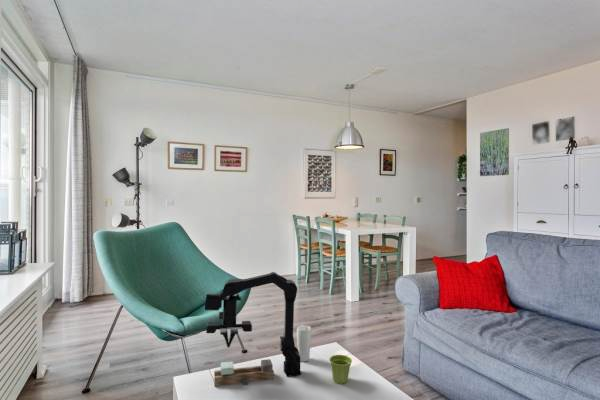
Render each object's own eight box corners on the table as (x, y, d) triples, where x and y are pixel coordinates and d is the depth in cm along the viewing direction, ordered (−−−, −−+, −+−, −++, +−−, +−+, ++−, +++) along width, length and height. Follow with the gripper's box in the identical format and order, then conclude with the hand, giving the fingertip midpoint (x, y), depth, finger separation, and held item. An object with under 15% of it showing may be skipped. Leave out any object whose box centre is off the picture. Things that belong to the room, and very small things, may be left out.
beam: (270, 371, 156) (270, 357, 156) (274, 381, 147) (274, 366, 147) (214, 377, 150) (214, 363, 150) (214, 388, 141) (214, 373, 141)
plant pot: (354, 377, 150) (354, 357, 150) (347, 388, 142) (348, 366, 142) (333, 373, 154) (333, 353, 154) (326, 383, 146) (326, 361, 146)
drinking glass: (309, 363, 163) (309, 331, 163) (295, 362, 164) (295, 329, 164) (311, 357, 170) (312, 325, 170) (298, 355, 171) (298, 324, 171)
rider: (232, 371, 150) (232, 361, 150) (233, 378, 144) (233, 367, 144) (220, 373, 148) (220, 362, 148) (221, 379, 143) (221, 368, 143)
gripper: (250, 304, 161) (248, 338, 161) (207, 305, 157) (206, 340, 156) (252, 311, 150) (251, 348, 150) (207, 313, 146) (205, 351, 146)
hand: (228, 347), depth 151 cm, fingers closed
